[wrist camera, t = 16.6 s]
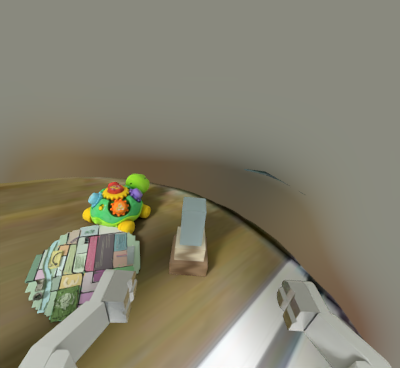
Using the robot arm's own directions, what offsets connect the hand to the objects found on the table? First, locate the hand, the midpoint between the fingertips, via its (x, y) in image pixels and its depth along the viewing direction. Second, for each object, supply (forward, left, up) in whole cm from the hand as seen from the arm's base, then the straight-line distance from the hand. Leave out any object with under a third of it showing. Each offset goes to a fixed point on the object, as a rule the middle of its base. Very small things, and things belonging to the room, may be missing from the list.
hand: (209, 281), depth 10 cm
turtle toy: (-22, +44, -32) cm, 59 cm away
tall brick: (0, +27, -24) cm, 36 cm away
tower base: (0, +27, -32) cm, 42 cm away
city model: (-23, +23, -33) cm, 46 cm away
